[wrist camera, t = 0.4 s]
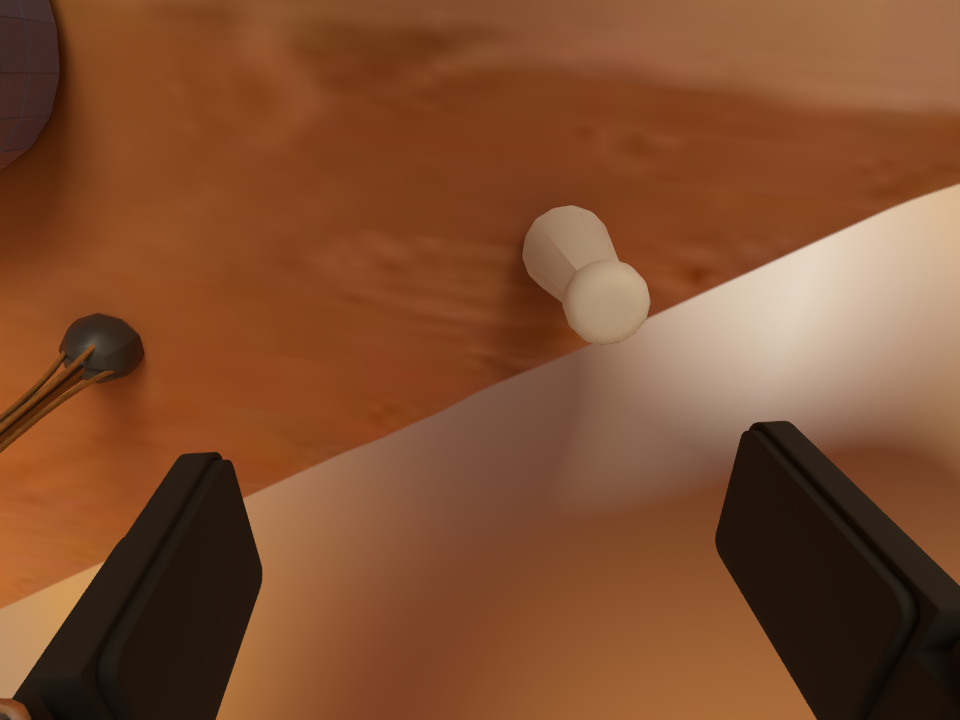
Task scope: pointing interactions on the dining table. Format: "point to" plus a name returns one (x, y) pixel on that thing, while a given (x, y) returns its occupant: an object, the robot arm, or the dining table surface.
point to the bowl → (26, 73)
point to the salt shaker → (585, 275)
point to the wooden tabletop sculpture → (76, 370)
